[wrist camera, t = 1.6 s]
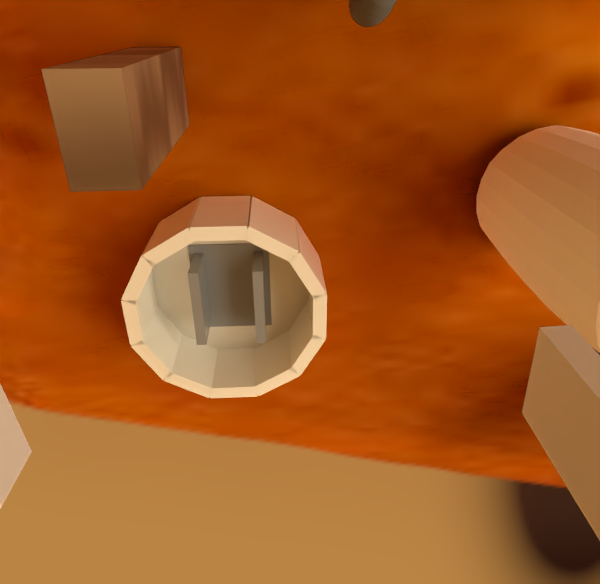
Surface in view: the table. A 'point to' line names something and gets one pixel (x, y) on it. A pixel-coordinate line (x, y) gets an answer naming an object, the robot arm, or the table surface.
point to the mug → (370, 11)
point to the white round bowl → (227, 298)
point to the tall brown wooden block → (117, 115)
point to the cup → (549, 219)
